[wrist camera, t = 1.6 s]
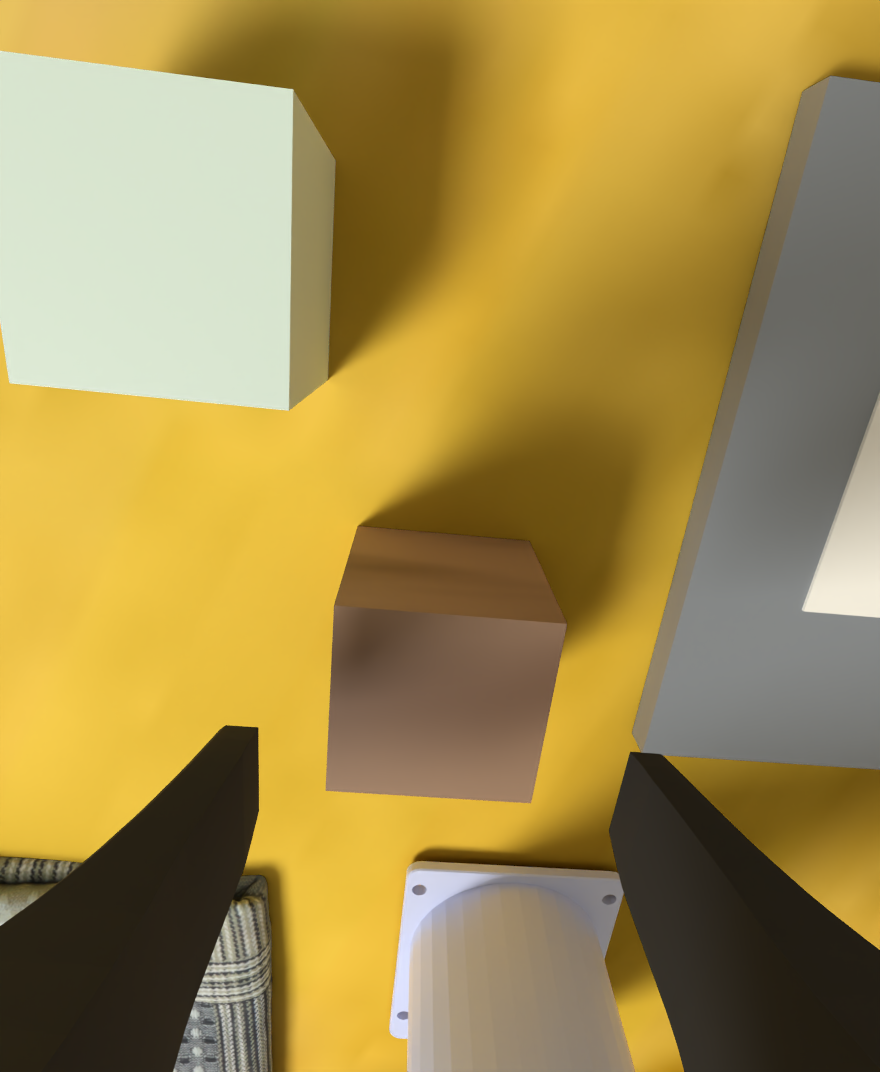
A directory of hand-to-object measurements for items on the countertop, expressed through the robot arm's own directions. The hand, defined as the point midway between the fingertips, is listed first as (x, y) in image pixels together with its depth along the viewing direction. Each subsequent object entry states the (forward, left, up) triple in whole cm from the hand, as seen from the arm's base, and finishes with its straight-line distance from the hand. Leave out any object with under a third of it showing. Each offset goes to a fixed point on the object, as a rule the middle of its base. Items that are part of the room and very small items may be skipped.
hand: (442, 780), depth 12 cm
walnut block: (0, 0, -7) cm, 7 cm away
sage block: (+9, +6, -7) cm, 13 cm away
